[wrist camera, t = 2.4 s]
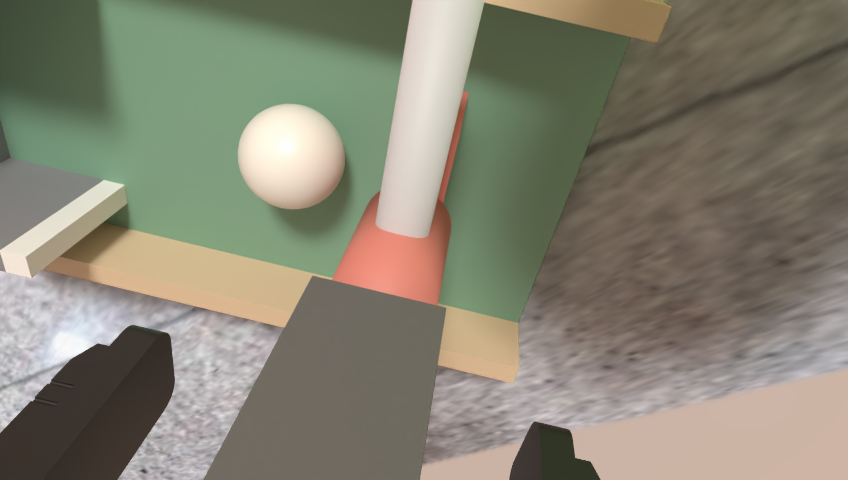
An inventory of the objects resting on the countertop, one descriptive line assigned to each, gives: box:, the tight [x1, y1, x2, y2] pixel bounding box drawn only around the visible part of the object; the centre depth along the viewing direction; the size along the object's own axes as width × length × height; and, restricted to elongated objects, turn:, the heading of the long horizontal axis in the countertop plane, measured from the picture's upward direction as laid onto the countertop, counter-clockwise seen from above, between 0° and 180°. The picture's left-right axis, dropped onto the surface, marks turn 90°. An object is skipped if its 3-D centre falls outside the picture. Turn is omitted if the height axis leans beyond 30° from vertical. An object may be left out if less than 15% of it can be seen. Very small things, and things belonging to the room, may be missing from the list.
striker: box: [204, 0, 485, 480], centre depth 15 cm, size 3×17×16 cm, turn 169°
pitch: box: [0, 0, 672, 383], centre depth 20 cm, size 26×16×7 cm, turn 79°
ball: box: [238, 104, 345, 209], centre depth 20 cm, size 4×4×4 cm
